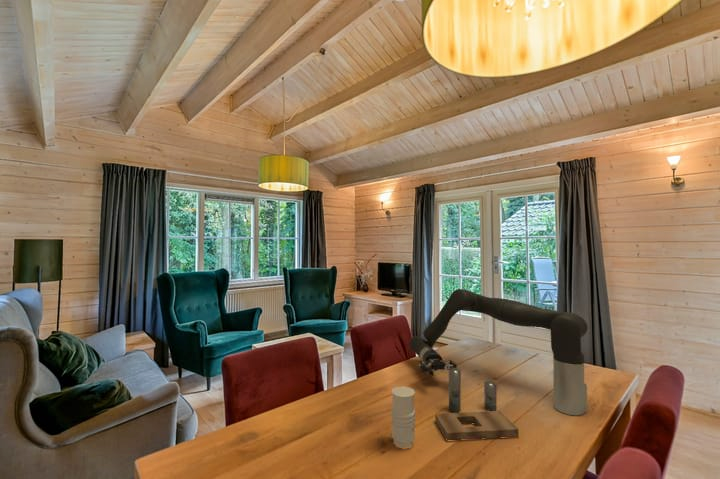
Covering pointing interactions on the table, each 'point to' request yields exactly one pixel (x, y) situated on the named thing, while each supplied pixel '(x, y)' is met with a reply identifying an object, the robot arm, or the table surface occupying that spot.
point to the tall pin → (454, 390)
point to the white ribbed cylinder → (403, 416)
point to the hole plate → (486, 422)
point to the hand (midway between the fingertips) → (443, 373)
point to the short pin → (490, 395)
